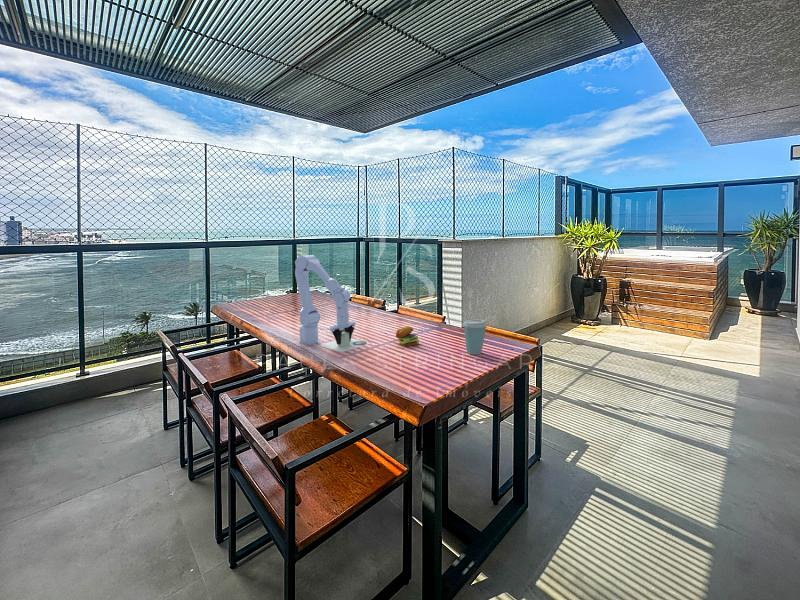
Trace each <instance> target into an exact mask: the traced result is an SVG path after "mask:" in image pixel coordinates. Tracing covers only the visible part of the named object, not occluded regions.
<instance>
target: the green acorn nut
mask: <svg viewBox="0 0 800 600" xmlns="http://www.w3.org/2000/svg"><path fill="white" fill-rule="evenodd" d="M349 345H350V339H349V332H342V334H341V344H340V345H339V344H338V346H339V347H347V346H349Z"/></svg>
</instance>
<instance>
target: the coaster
mask: <svg viewBox="0 0 800 600" xmlns="http://www.w3.org/2000/svg"><path fill="white" fill-rule="evenodd" d="M367 342H368V341H365V340H361V341H356V342H353V345H364V346H366V345H365V344H367ZM367 345H368V344H367Z"/></svg>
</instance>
